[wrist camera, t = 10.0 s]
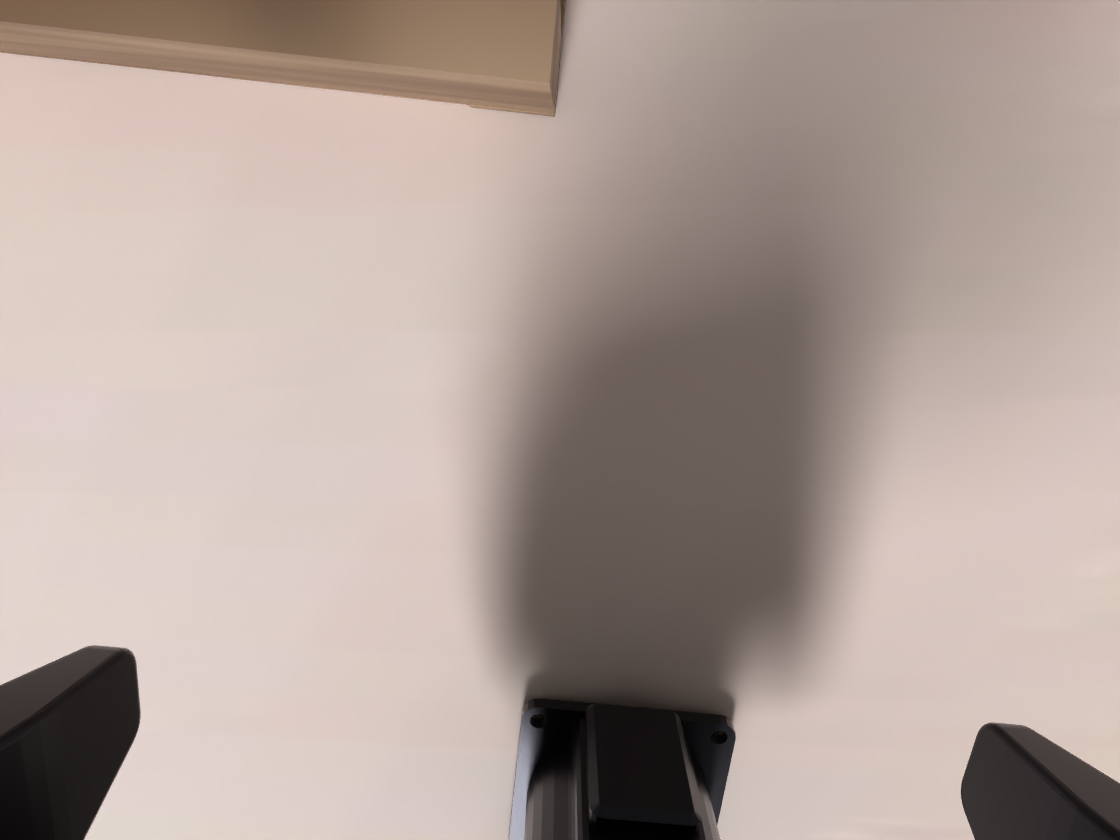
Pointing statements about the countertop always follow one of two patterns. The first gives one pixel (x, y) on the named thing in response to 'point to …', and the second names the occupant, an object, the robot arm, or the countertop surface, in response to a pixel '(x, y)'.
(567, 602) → the countertop surface
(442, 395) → the countertop surface
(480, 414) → the countertop surface
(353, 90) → the screen
